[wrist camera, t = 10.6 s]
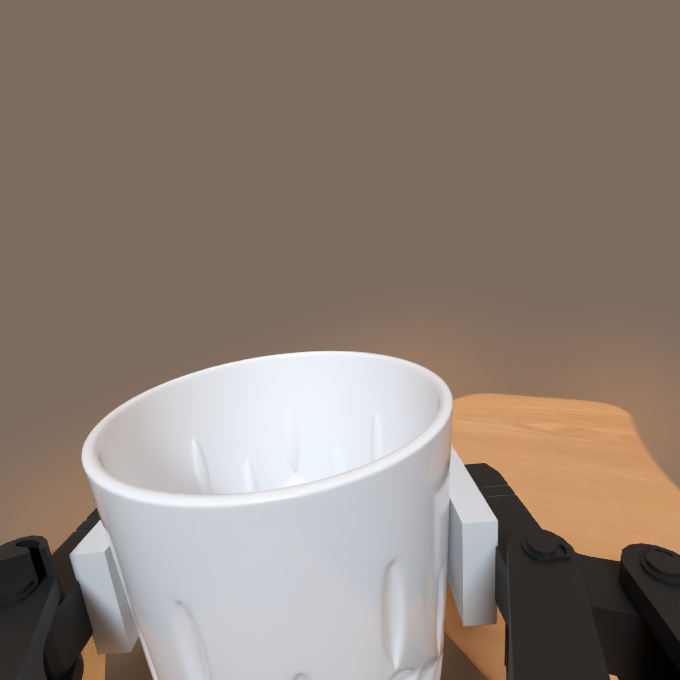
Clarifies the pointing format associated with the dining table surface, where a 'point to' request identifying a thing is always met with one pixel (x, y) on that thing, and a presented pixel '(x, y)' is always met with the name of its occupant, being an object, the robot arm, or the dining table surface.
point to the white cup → (282, 518)
